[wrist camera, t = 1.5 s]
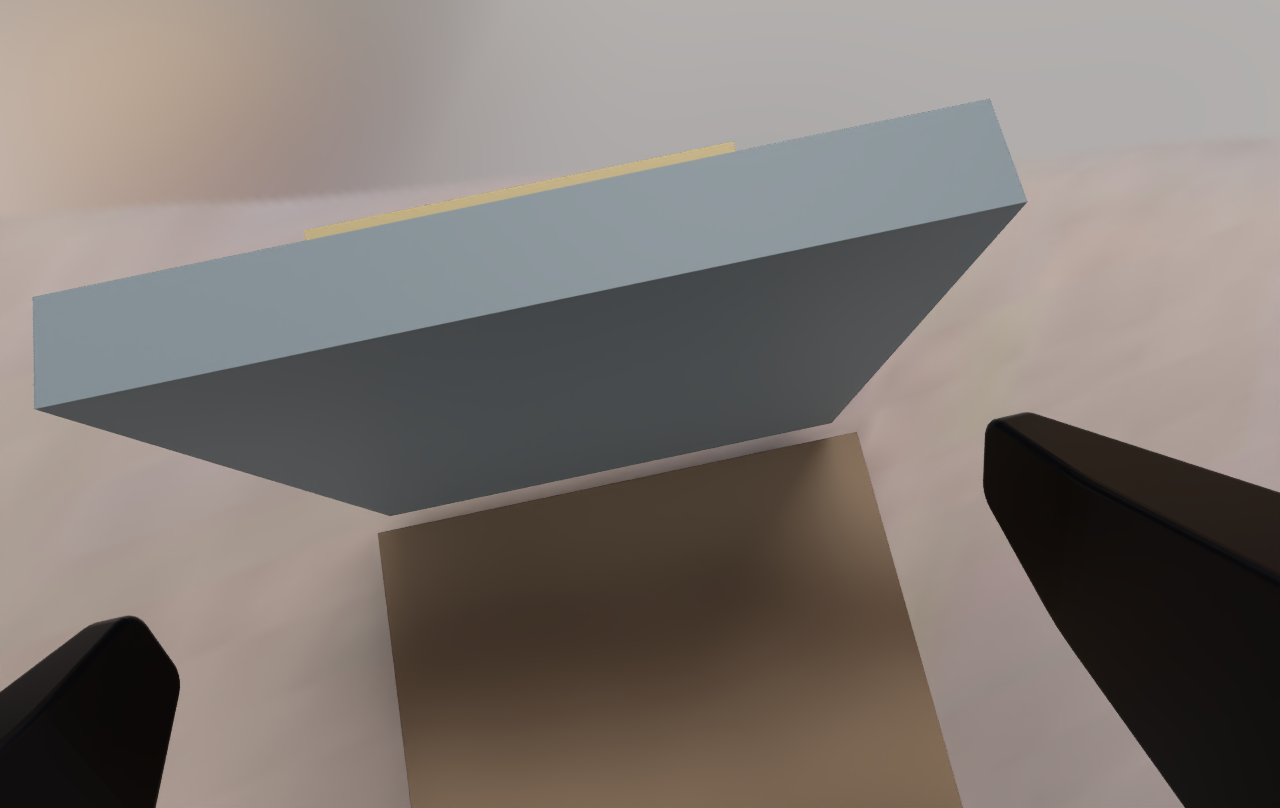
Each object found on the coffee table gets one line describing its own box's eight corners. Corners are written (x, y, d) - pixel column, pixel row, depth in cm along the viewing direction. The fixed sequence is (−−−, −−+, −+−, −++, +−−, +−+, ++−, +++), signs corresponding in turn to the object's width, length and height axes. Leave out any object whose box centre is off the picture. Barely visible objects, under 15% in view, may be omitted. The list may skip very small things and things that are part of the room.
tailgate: (831, 422, 18) (1027, 201, 8) (390, 516, 17) (33, 409, 8) (810, 347, 18) (971, 50, 8) (380, 438, 18) (31, 243, 8)
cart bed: (932, 790, 18) (964, 813, 16) (453, 894, 18) (426, 930, 16) (838, 448, 20) (856, 431, 18) (407, 539, 20) (377, 532, 18)
